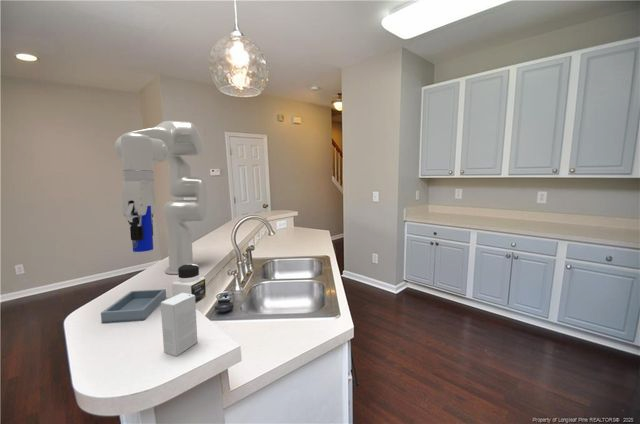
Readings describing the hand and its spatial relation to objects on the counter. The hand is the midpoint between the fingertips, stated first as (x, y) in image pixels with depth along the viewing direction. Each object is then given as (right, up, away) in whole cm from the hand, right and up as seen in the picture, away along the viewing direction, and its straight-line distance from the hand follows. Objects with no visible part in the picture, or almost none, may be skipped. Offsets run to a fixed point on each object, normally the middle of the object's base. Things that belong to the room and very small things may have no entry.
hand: (142, 237), depth 80 cm
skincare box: (+21, -24, -18) cm, 37 cm away
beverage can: (0, -5, 0) cm, 5 cm away
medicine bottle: (+11, -22, +8) cm, 26 cm away
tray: (-3, -22, +1) cm, 22 cm away
